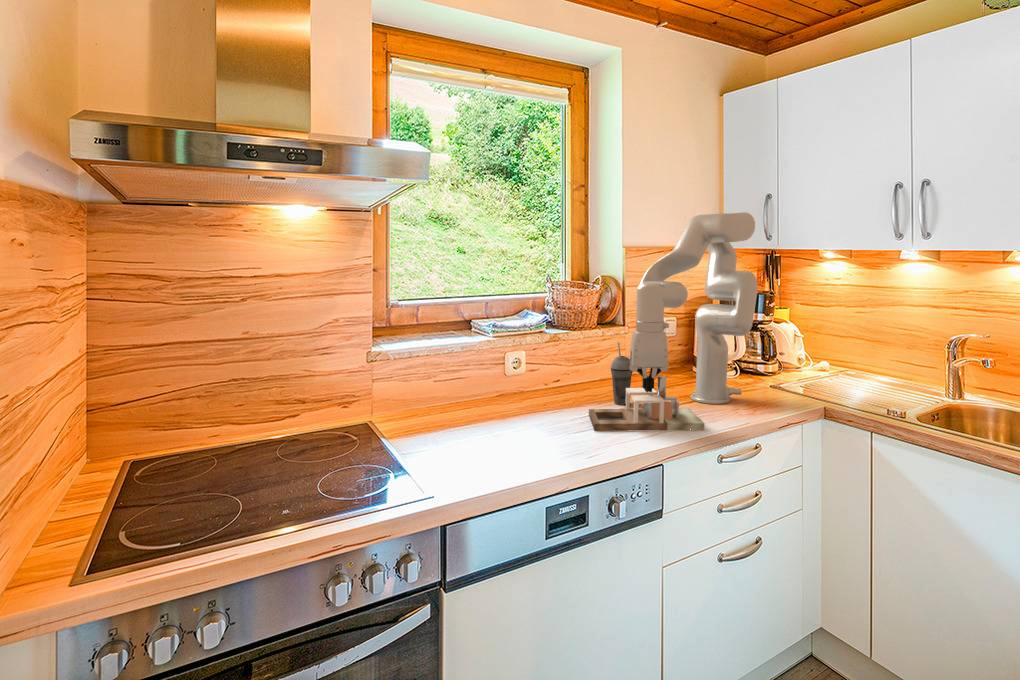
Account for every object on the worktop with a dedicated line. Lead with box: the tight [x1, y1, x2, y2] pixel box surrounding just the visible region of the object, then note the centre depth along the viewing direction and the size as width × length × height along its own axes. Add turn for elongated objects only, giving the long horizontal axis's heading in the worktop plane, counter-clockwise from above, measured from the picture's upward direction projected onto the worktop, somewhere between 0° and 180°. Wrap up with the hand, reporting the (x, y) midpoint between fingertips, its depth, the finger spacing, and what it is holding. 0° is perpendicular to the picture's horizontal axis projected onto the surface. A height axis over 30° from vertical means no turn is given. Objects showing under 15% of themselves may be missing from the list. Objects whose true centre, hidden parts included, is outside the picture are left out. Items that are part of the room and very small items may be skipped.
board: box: [588, 408, 705, 432], centre depth 160 cm, size 30×14×2 cm, turn 88°
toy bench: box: [625, 387, 664, 423], centre depth 160 cm, size 8×14×6 cm, turn 178°
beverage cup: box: [610, 341, 634, 406], centre depth 180 cm, size 7×7×20 cm
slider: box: [643, 375, 680, 418], centre depth 159 cm, size 8×7×11 cm
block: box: [651, 400, 673, 419], centre depth 160 cm, size 6×6×4 cm
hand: (648, 390), depth 159 cm, fingers closed
